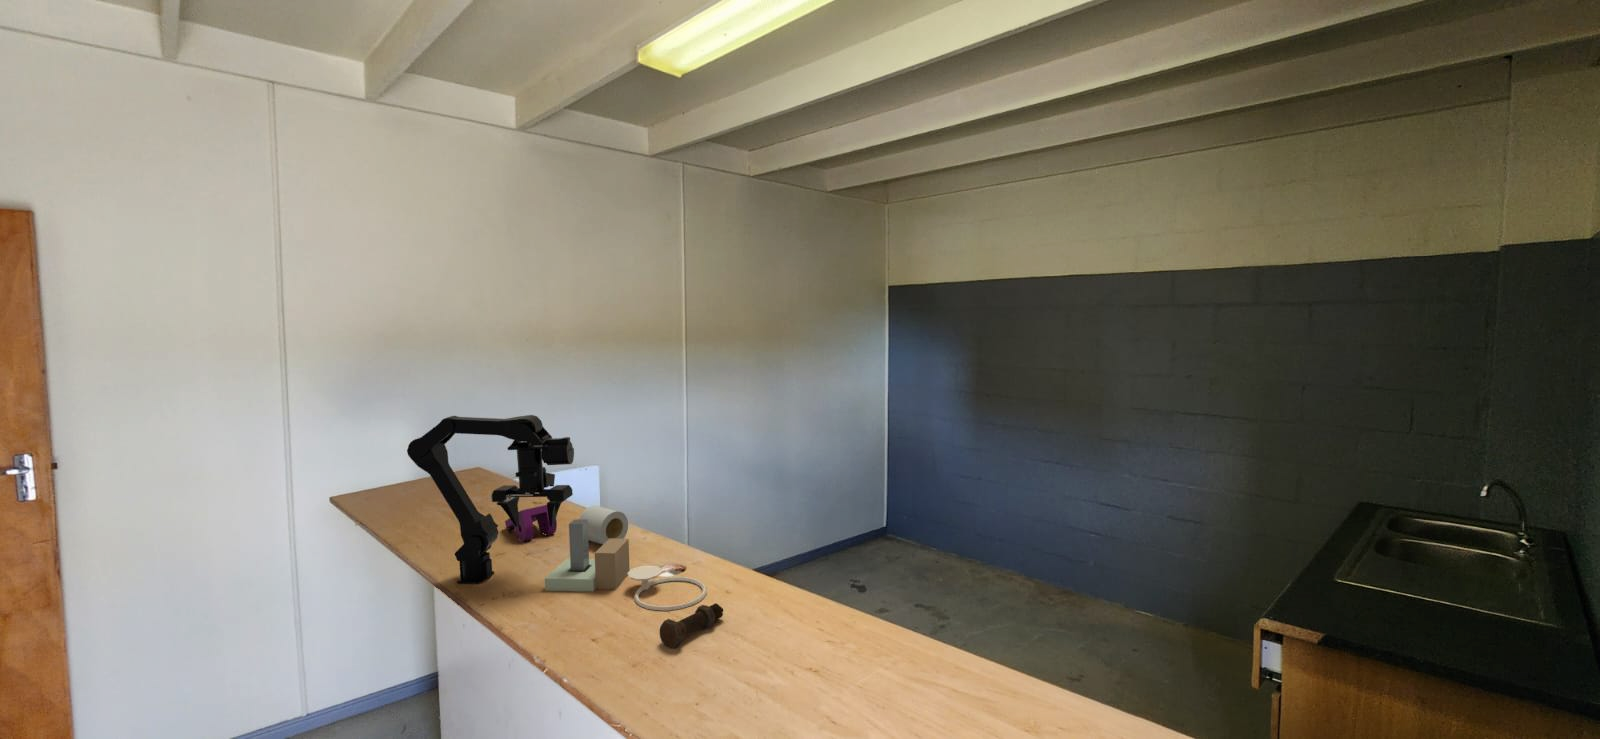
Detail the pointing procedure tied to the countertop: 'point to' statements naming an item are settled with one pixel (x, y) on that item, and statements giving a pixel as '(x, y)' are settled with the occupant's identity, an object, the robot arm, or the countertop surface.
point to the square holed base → (594, 570)
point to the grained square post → (579, 545)
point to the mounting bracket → (526, 523)
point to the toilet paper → (604, 524)
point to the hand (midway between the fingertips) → (534, 526)
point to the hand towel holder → (652, 572)
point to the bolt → (689, 624)
